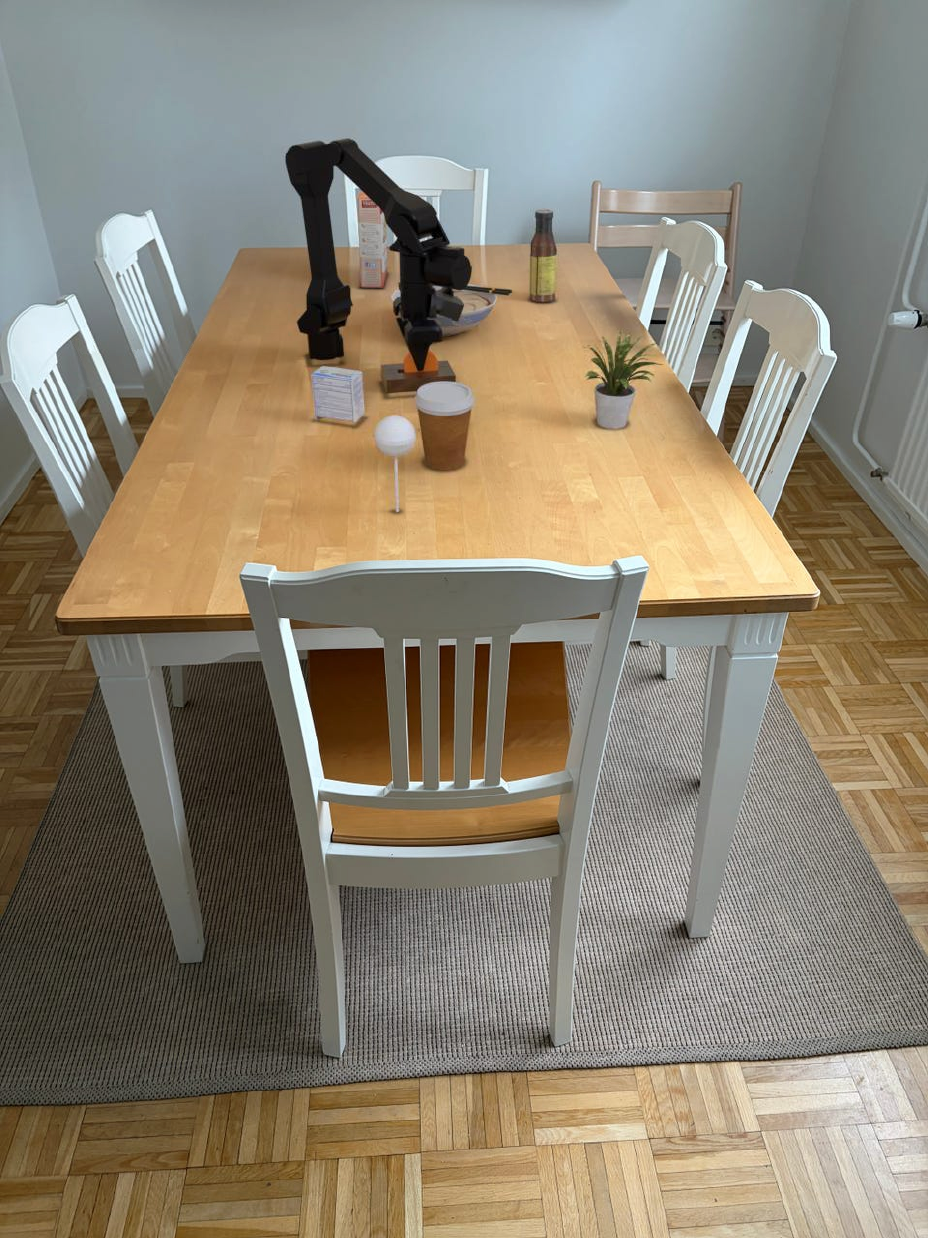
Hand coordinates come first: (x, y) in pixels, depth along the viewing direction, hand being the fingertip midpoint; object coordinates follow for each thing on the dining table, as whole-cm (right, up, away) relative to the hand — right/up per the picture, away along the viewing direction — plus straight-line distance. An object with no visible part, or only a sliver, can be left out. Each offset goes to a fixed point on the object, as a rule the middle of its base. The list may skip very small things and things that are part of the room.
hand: (417, 364), depth 178 cm
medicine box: (-13, -12, -10) cm, 21 cm away
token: (0, -3, +2) cm, 4 cm away
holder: (0, -4, +3) cm, 4 cm away
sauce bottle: (+27, +28, +48) cm, 62 cm away
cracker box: (-14, +37, +59) cm, 71 cm away
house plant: (+34, -14, -10) cm, 38 cm away
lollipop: (-1, -32, -37) cm, 48 cm away
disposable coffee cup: (+6, -22, -23) cm, 32 cm away
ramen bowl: (+4, +15, +29) cm, 33 cm away
